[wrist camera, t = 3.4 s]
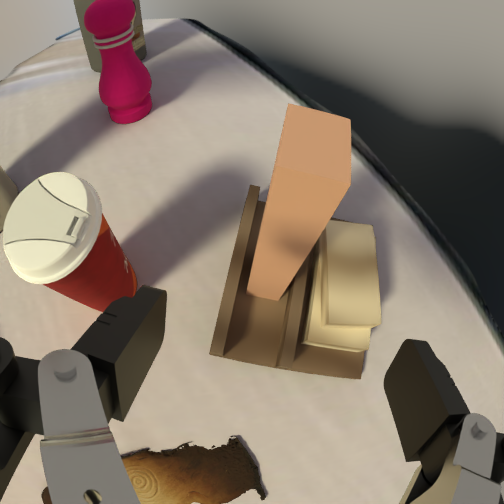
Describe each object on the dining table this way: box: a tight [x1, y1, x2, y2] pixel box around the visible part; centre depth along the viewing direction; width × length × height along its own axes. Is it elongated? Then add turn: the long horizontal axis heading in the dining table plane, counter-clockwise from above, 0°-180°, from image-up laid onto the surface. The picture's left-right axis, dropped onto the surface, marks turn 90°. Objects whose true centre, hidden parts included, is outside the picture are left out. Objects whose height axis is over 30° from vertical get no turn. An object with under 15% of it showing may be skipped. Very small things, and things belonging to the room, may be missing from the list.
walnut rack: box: [209, 185, 364, 379], centre depth 28 cm, size 16×14×4 cm
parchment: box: [42, 436, 266, 504], centre depth 20 cm, size 25×10×1 cm, turn 119°
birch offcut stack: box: [301, 220, 381, 352], centre depth 27 cm, size 11×6×5 cm, turn 169°
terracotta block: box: [246, 104, 351, 301], centre depth 20 cm, size 4×3×18 cm
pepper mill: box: [84, 0, 152, 124], centre depth 29 cm, size 7×7×20 cm
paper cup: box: [3, 172, 137, 312], centre depth 22 cm, size 8×8×14 cm
